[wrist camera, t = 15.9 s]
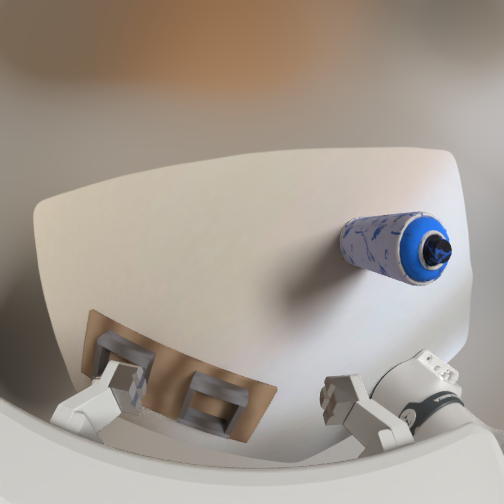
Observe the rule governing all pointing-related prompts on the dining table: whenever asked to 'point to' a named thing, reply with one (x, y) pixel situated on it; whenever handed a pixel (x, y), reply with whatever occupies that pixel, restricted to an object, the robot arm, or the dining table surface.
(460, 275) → the dining table surface
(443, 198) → the dining table surface
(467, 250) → the dining table surface
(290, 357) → the dining table surface
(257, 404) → the port board
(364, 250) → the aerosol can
